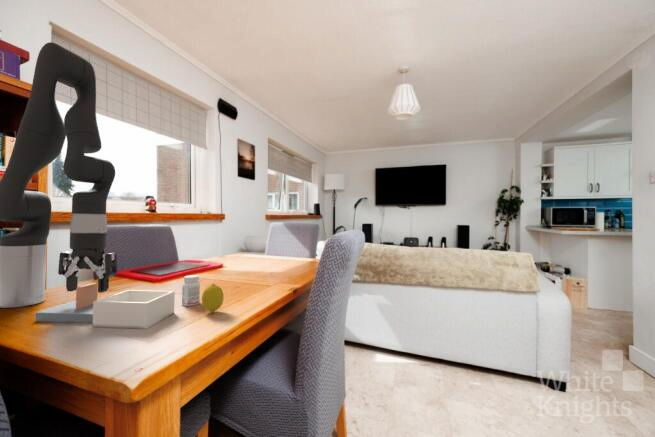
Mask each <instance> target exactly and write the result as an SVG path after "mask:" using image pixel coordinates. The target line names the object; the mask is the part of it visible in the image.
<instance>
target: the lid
mask: <svg viewBox="0 0 655 437" xmlns="http://www.w3.org/2000/svg"><path fill="white" fill-rule="evenodd" d="M75 294H76V295H75V300H72V301H69V302H66V303H62V304H59V305H56V306H53V307H49V308H46V309H44V310H39V311H37V312H35V322H50V323H51V322H52V323H53V322H56V323H82V324H83V323H85V324H86V323H87V324H93V301H96V300H99V299H100V298H98V282H91V283H87V284H84V285H79V286H77V287H76V290H75Z"/></svg>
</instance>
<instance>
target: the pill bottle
mask: <svg viewBox="0 0 655 437" xmlns="http://www.w3.org/2000/svg"><path fill="white" fill-rule="evenodd" d="M199 279H200V277H199V275H198V274H190V275H185V276H184V277H183V284H182V285H181V286H182V288H181V290H182V291H181V292H182V296H181V297H182V298H181V304H182V306H183V307H184V306H185V307H192V306H196V305H199V304H200V301H201V300H200V296H201V295H200V292H201V291H200V290H201V283H200V281H199Z"/></svg>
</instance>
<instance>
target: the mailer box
mask: <svg viewBox="0 0 655 437" xmlns="http://www.w3.org/2000/svg"><path fill="white" fill-rule="evenodd" d="M175 292H176V291H175V290H150V289H149V290H146V289H139V290H138V289H127V290H124V291H121V292H118V293H114V294H111V295H108V296H106V297H102V298H98V299H99V300H96V301H93V323H92V327H93V328H112V329H113V328H114V329H115V328H116V329H137V330H138V329H139V330H142V329H143V330H146V329H149V328H150V327H152V326H154V325H156V324H158V323H159V322H161V321H163V320H164V319H166V318H169V317H170V316H172V315H173V314H175V298H176V297H175V295H176V293H175Z"/></svg>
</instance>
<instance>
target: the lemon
mask: <svg viewBox="0 0 655 437" xmlns="http://www.w3.org/2000/svg"><path fill="white" fill-rule="evenodd" d="M201 303H202V306H203V308H204V309H205V310H206V311H209V312H210V313H215V311H217V310H219V309H220V308H221V307H222V305H223V303H224V292H223V289H222V287H220V286H219V285H217V284H216V283H212V284H211V285H209V286H207V287H206V288H205V289H204V290H203V292H202V296H201Z"/></svg>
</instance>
